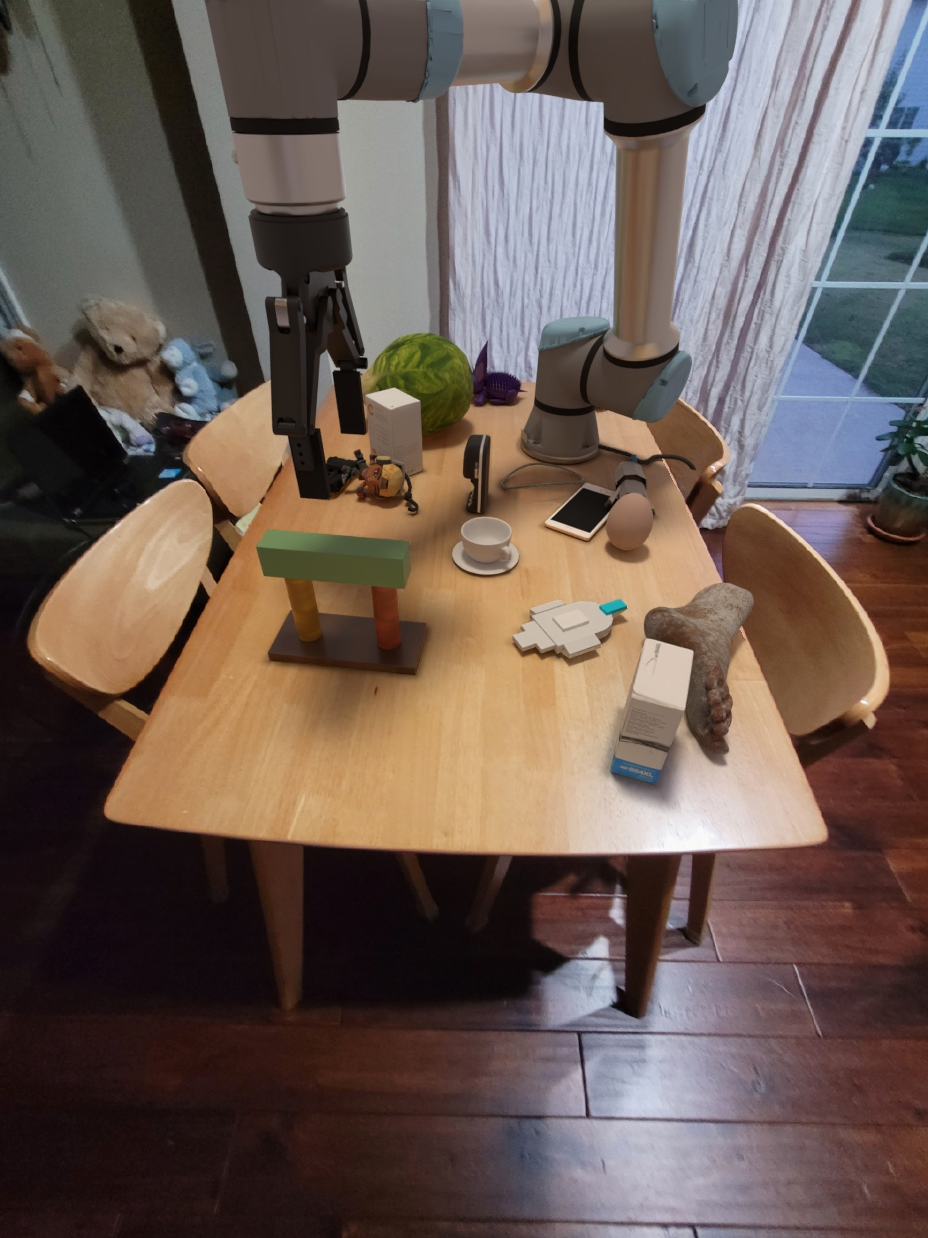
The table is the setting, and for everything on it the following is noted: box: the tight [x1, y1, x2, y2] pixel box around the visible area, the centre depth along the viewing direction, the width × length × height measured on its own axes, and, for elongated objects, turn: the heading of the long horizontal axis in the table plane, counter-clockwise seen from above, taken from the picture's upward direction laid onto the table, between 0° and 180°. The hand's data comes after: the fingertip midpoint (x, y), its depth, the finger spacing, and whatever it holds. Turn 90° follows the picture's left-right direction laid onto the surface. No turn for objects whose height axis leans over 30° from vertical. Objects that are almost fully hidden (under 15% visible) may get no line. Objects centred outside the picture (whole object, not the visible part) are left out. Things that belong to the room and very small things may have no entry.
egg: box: [605, 493, 654, 551], centre depth 86 cm, size 7×7×9 cm
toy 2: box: [604, 453, 657, 517], centre depth 96 cm, size 9×6×15 cm
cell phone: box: [544, 482, 618, 541], centre depth 97 cm, size 8×16×1 cm, turn 147°
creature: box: [471, 339, 529, 406], centre depth 128 cm, size 9×18×12 cm, turn 96°
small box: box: [365, 388, 424, 477], centre depth 103 cm, size 8×6×13 cm
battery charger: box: [462, 433, 492, 514], centre depth 95 cm, size 7×4×11 cm, turn 172°
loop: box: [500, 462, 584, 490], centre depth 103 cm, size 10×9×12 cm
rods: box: [267, 578, 428, 675], centre depth 69 cm, size 18×8×11 cm, turn 83°
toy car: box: [326, 455, 360, 494], centre depth 102 cm, size 8×12×4 cm
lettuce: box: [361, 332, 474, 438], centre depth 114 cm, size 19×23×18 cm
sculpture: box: [643, 582, 755, 755], centre depth 67 cm, size 8×22×15 cm
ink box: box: [609, 638, 694, 785], centre depth 58 cm, size 9×5×12 cm, turn 158°
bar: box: [255, 528, 412, 590], centre depth 64 cm, size 16×4×4 cm, turn 83°
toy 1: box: [342, 448, 420, 513], centre depth 97 cm, size 8×9×15 cm
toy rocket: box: [511, 598, 629, 659], centre depth 74 cm, size 16×10×2 cm, turn 115°
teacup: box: [451, 516, 520, 575], centre depth 86 cm, size 10×10×5 cm
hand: (336, 462), depth 59 cm, fingers open, 13 cm apart
